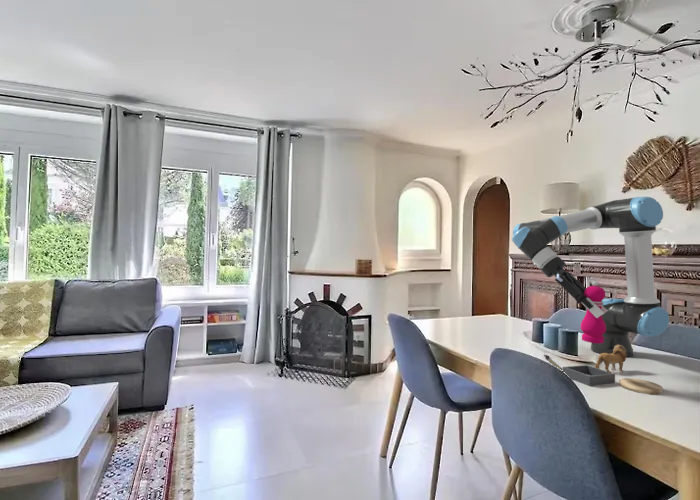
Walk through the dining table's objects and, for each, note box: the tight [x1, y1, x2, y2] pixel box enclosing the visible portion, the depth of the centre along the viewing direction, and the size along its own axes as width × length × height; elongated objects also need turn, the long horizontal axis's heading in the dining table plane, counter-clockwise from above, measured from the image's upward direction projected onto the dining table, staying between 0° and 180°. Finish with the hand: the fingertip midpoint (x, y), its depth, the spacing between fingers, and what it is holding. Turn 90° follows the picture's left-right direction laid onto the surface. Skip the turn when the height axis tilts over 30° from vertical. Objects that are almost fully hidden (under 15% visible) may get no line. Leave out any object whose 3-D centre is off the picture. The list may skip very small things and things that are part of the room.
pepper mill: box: [580, 280, 606, 343], centre depth 130 cm, size 7×7×20 cm
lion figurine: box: [594, 345, 627, 373], centre depth 141 cm, size 15×5×9 cm, turn 116°
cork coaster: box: [618, 377, 664, 395], centre depth 124 cm, size 11×11×1 cm
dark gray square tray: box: [562, 364, 616, 387], centre depth 131 cm, size 11×11×3 cm
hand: (602, 314), depth 129 cm, fingers closed on pepper mill, 5 cm apart
